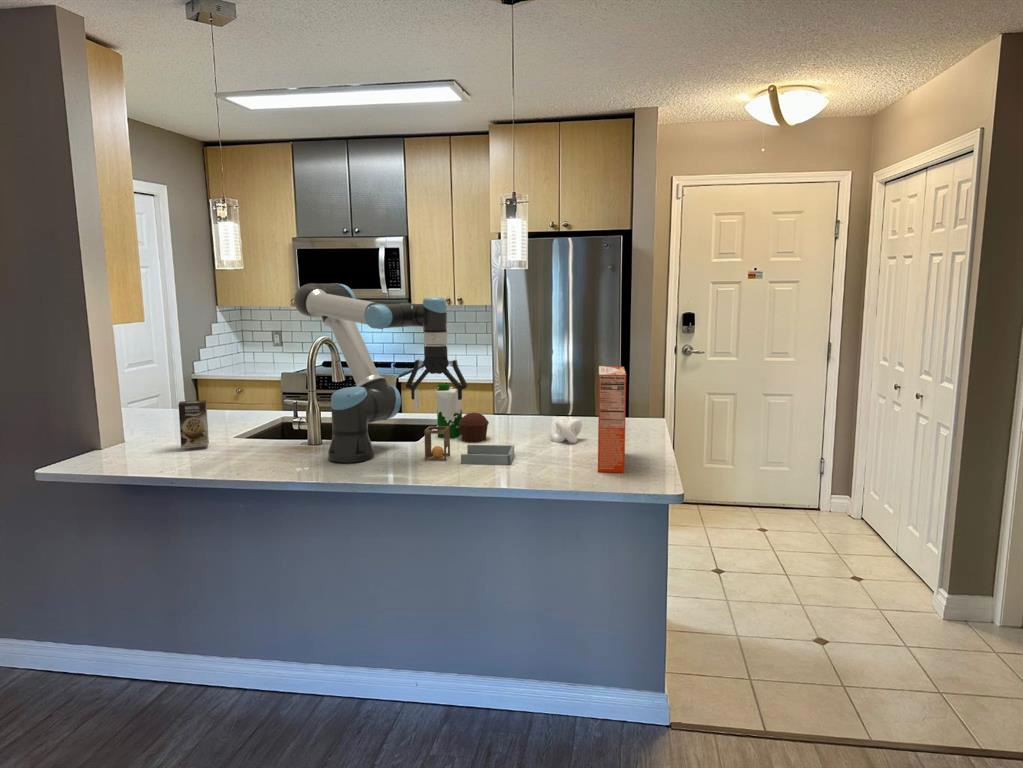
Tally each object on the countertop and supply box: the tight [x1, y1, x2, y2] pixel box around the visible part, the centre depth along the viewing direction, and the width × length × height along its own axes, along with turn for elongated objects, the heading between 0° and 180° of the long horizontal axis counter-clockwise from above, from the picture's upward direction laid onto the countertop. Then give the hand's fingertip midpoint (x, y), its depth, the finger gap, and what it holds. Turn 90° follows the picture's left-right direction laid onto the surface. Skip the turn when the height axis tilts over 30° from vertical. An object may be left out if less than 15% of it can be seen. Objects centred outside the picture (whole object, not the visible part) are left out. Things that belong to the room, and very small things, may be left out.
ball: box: [431, 445, 444, 458], centre depth 224 cm, size 4×4×4 cm
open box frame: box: [423, 425, 451, 462], centre depth 224 cm, size 7×7×10 cm
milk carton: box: [435, 383, 463, 440], centre depth 256 cm, size 9×9×20 cm
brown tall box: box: [178, 400, 210, 449], centre depth 244 cm, size 9×6×16 cm
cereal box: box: [597, 365, 627, 473], centre depth 215 cm, size 23×8×30 cm, turn 173°
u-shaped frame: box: [460, 444, 515, 466], centre depth 223 cm, size 16×14×3 cm
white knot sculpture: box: [549, 416, 583, 444], centre depth 247 cm, size 11×12×9 cm
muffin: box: [459, 412, 490, 443], centre depth 251 cm, size 12×11×10 cm
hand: (437, 409), depth 223 cm, fingers open, 13 cm apart
